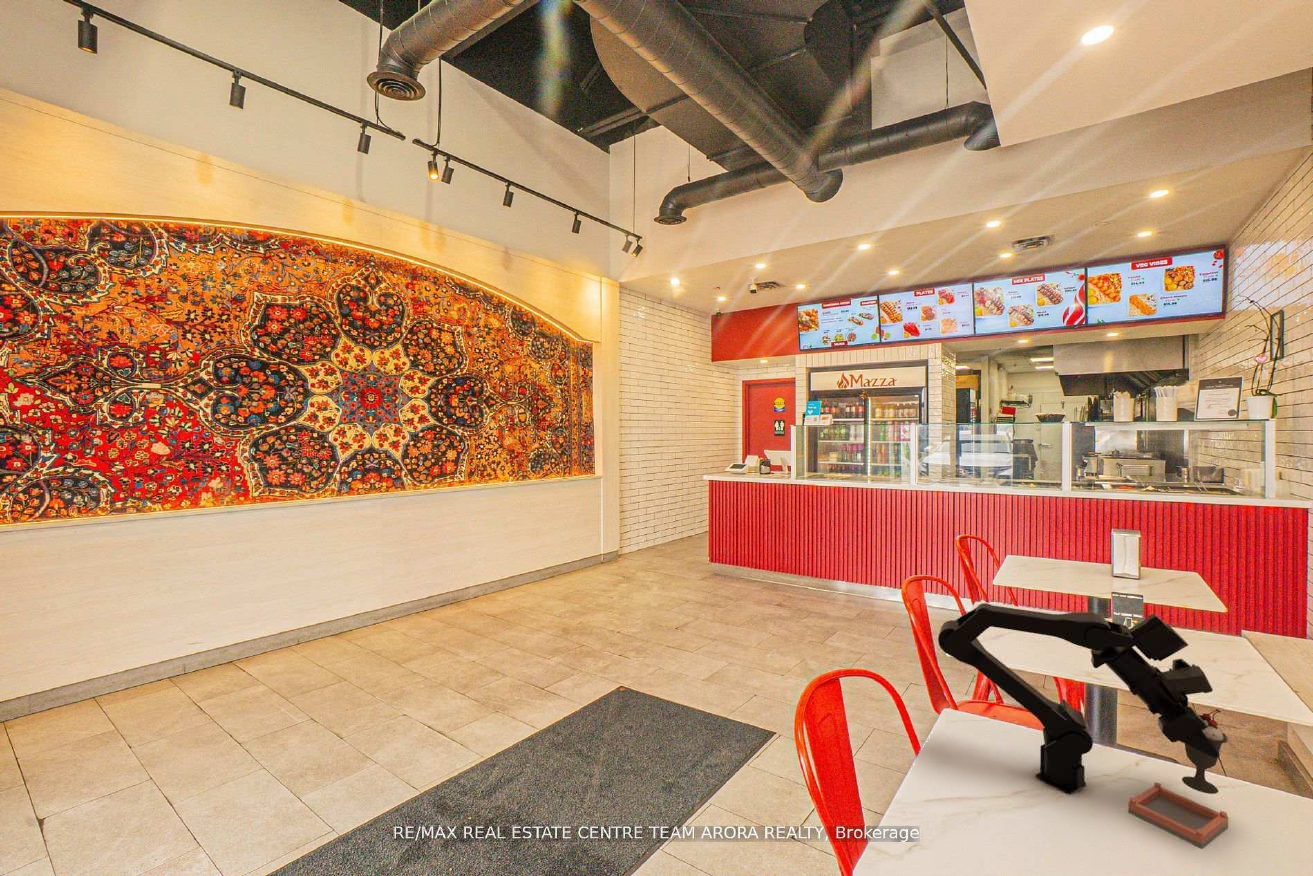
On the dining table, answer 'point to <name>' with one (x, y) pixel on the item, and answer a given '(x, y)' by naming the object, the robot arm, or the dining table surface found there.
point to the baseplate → (1179, 815)
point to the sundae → (1205, 756)
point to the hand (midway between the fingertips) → (1211, 747)
